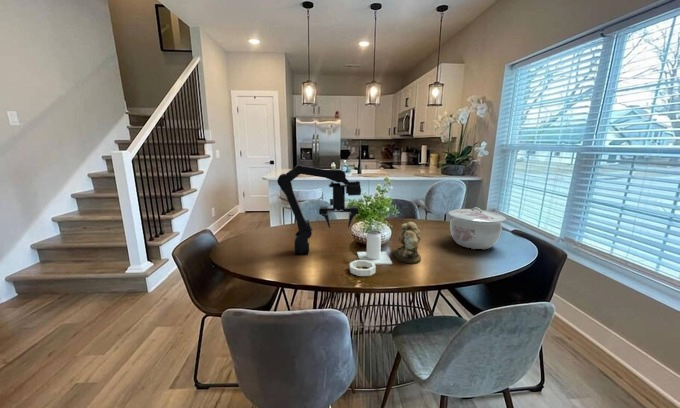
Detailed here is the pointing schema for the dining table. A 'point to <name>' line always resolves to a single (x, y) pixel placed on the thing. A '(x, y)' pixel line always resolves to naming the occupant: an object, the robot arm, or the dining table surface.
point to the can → (373, 245)
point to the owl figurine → (408, 244)
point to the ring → (362, 271)
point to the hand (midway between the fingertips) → (338, 227)
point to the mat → (382, 260)
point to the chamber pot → (475, 227)
